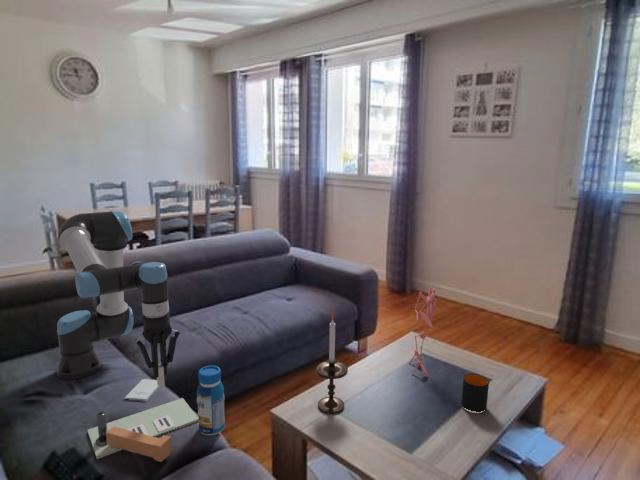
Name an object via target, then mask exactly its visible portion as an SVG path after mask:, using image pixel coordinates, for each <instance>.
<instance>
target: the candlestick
mask: <svg viewBox="0 0 640 480" xmlns="http://www.w3.org/2000/svg"><path fill="white" fill-rule="evenodd" d="M331 314H332V315H331V322H330V323H329V337H328V338H329V344H328V345H329V347H328V348H329V349H328V353H329V354H328V358H327V359H326V360H325V361H321V362H318V364H317V365H316V366H315V373H316V375H318V376H319V377H321V378H322V379H327V380H329V384H327V389H328V391H327V395H328V396H325V397H322V398H321V399H320V400H318V403H317V408H318V410H319V409H320V410H321V411H320V410H319V411H320V412H322V413H323V412H324V414H326V413H329V414H328V415H336V413H337V414H340V413H341V412H343V411H344V409H345V402H344V401H343V400H342V399H341V398H338V397H335V394H336V392H335V389H336V385H335V384H334V380H338V379H342V378H344V377H345V376H347V374H348V370H349V369H348V366H347V365H346V364H345V363H343V362H341V361H338V359H336V358H335V357H336V356H335V355H336V351H335V350H336V347H335V346H336V322H335V321H334V319H335V310H333V311H332V312H331ZM334 413H335V414H334Z"/></svg>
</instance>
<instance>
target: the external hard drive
mask: <svg viewBox="0 0 640 480" xmlns="http://www.w3.org/2000/svg"><path fill="white" fill-rule="evenodd" d="M158 389H160V387H159V386H158V384H157V379H147V378H144V379H143V378H142V379H141V380H140V381H139V382H138V383H137V384H136V385H135V386H134V387H133V389H131V390H130V391H129V392H128V393H127V395H125V397H124V399H131V400H130V401H137V400H143V401H142V402H147V401H148V400H149V399H150V398H151V397H152V396H151V395H153V394H154V393H155V392H156V391H157V390H158ZM150 396H151V397H150ZM149 397H150V398H149Z"/></svg>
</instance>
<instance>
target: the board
mask: <svg viewBox="0 0 640 480" xmlns="http://www.w3.org/2000/svg"><path fill="white" fill-rule="evenodd" d="M167 415H168V416H169V417H170V419H171V420H172V422H173V423H174V425H175V427H173V428H170V429H167V430H165V431H162V432H158V430H157V428H156V426H155V425H154V423H153V421H152V420H155V419H158V418H161V417H164V416H167ZM197 422H198V423H199V418H198V415H196V413H195V412H194V410H193V409H192V408H191V406H189V404H188V403H187V402H186V400H185V399H184V398H183V397H180V398H179V399H176V400H175V399H174V400H172V401H170V402H167V403H163V404H161V405H157V406H154V407H152V408H148V409H145V410H143V411H140V412H136V413H134V414H131V415H127V416H125V417H121V418H119V419H116V420H113V421H110V422H107V431H109V430H110V429H111V428H112V427H118V428H122V429H126V430H127V429H130V428H132V427H135V426H138V425H141V424H143V425H144V427H145V429H146V431H147V433H148V435H149V436H153V437H154V436H157V435H159V434H162V433H164V432H168V431H171V430H174V429H176V430H179V429H182V428H184V427H186V426H187V427H188V426H190V425H192V424H194V423H197ZM178 428H179V429H178ZM174 431H175V430H174ZM171 432H172V431H171ZM87 433H88V437H89V440H90V442H91V445H92V449H93V452H94V455H95V458H96V460H99V459H101V458H104V457H107V456H109V455H112V454H114V453H117V451H118V452H120V451H123V450H122V449H121V448H118V447H114V446H110V445H105V446H97V445H96V439H97V438H99V434H98V425H97V426H95V427H91V428H89V429H87ZM168 433H169V432H168Z"/></svg>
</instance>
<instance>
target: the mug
mask: <svg viewBox="0 0 640 480" xmlns="http://www.w3.org/2000/svg"><path fill="white" fill-rule="evenodd" d="M462 380H463V381H462V389H461V391H462V393H461V403H460V405H461V404H462V406H463V407H464V408H466V409H468V410H471V411H476V412H481V411H484V410H486V411H487V407H488V398H489V396H488V395H489V385H490V380H489V379H487V377H486V376H484V375H480V374H476V373H468V374H465V375H464V376H463V379H462ZM462 406H461V407H462Z"/></svg>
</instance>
